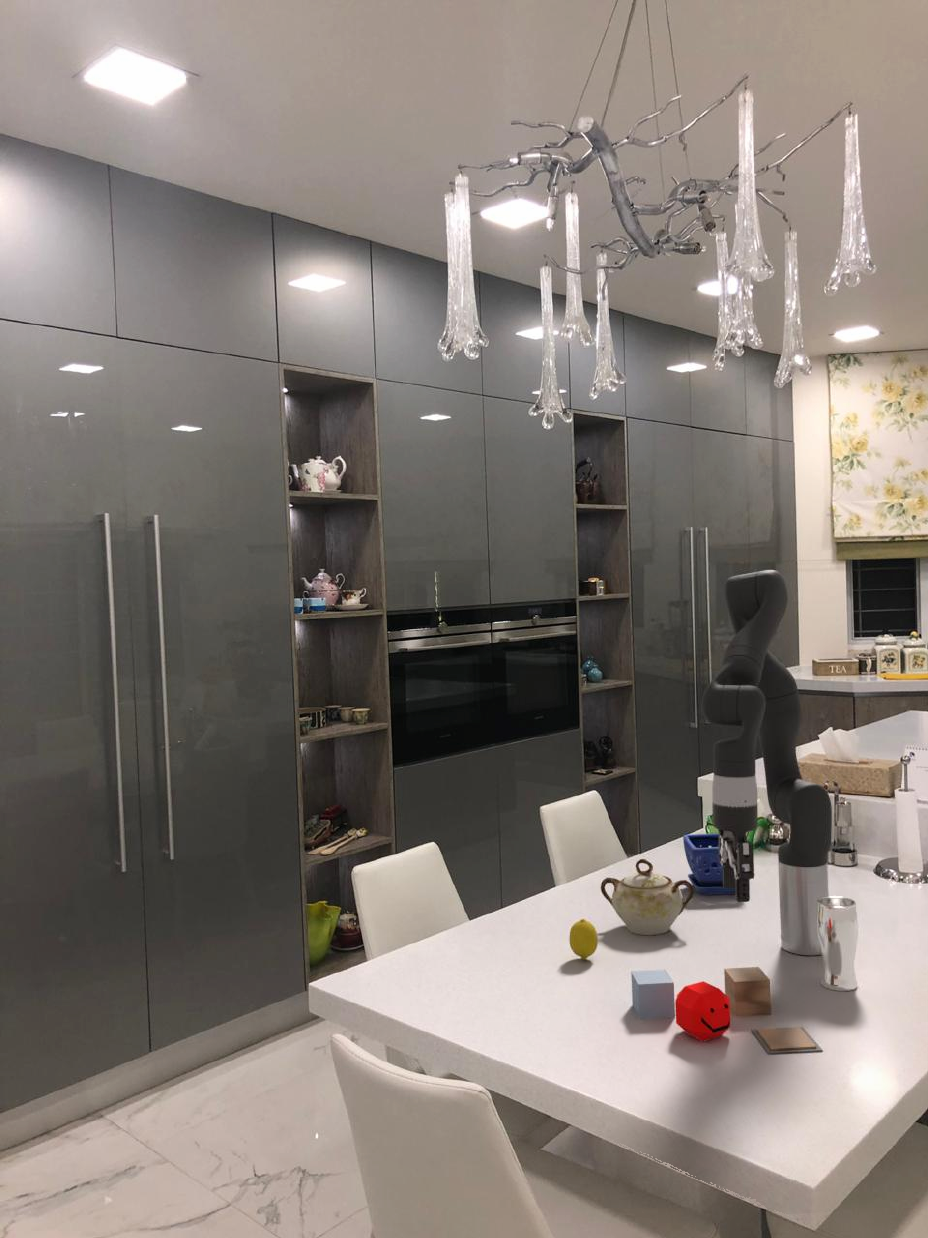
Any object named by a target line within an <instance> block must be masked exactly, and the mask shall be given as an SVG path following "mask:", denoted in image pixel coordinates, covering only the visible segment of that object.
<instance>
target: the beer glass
mask: <svg viewBox="0 0 928 1238" xmlns="http://www.w3.org/2000/svg"><path fill="white" fill-rule="evenodd" d="M858 918H859V917H858V911H857V903H856V900H854V899H852V898H848V897H844V896H836V895H833V896H832V895H831V896H830V895H829V896H828V897H822V898H819V899H818V900H817V933H818V939H819V944H820V949H821V953H822V954H821V958H822V974H821V982H820V983H821V985H822V987H824V988H826V989H828V990H831V991H837V992H849V991H854V990H855V989H857V988H858V980H857V976H856V975H857V974H856V972H855V971H856V970H855V960H856V954H857V953H856V952H857V946H858V938H859V921H858Z"/></svg>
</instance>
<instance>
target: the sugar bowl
mask: <svg viewBox="0 0 928 1238" xmlns="http://www.w3.org/2000/svg"><path fill="white" fill-rule="evenodd" d="M640 864H645V865H647V866H648V869H647V870H641V868H640ZM635 869H636V873H633V874H631V875H628V876H626V877H624V878H622V879H621V880H619V879H617V878H613V877H605V878H604V879H603V880H602V882H601V884H600V890H601V891H600V892H601V893H602V896H603V897H604V898H605V899H606V900H607V901H608V902H609V903H610V905H611V907H612V908H613V909H614V911H615V913H616V915H617V916H618V917H619V918H620V920H621V921H622V922H623V923H624V924H625V926H626V928H627V929H628V931H629V932H630V933H634V934H636V935H642V936H643V935H644V936H655V935H656V936H657V935H661V934H664V933H666V932H668V931H669V930H670V928H671V927H672V926H673V924H674V922H675V921H676V920H677V918H678V917H679V916H680V915H681V914H682V913H683V912H684V909H685V908H686V907H687V905H688V904H689V902H691V900H692V899H693V896H694V894H695V893H694V891H695V890H694V889H695V888H694V886H693V884H692V883H691V881H688V880H687V879H682V880H681V879H680V880H678V881H676V882H673V879H671V877H668V876H665V875H661V874H659V873H656V872H653V870H654V866H653V864H652V863H651V862H650V861H648V860H647V859H645V858H641V859H639V860H637V861H636V863H635ZM607 884H611V885H613V891H612V893H611V894H612V895H611V896H610V895H609V894H608V892H607V891H606V885H607ZM680 886H686V887H687V888H688V890H689V891H688V892H689V893H688V895H687V898H686V899H685V900H684V897H683V893H682V891H681V889H680Z"/></svg>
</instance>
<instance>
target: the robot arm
mask: <svg viewBox="0 0 928 1238" xmlns="http://www.w3.org/2000/svg"><path fill="white" fill-rule="evenodd" d="M724 597H725V603H726V607H727V612H728V614H729V619H730V622H731V625H732V628H733V631H734V636H733V637H732V639H731V640H730V642H729V643H728V645H727V646H726V649H725V652H724V655H723V660H722V665H721V668H720V669H719V670H718V672H717V673H716V675H715V676H714V677H713V679H712V680H711V681H710V682H709V684H708V686H707V687H706V689H705V690H704V693H703V695H702V697H701V704H700V706H701V708H700V709H701V713H702V716H703V718H704V719H705V720H706V721H707V722H708V723H709V724H711V725H714V726H726V727H728V726H729V727H730V726H732V727H742V731H741V733H740V735H738V736H736V737H730V738H724V739H719V740H717V741H716V742H715V743H714V744H713V749H712V750H713V751H712V752H713V753H712V754H713V756H712V757H713V760H712V761H713V762H712V764H713V766H712V767H713V769H712V770H713V775H712V776H713V778H712V786H711V787H712V788H711V790H712V791H711V792H712V793H711V794H712V795H711V796H712V802H711V803H712V826H713V828H715V830H716V829H717V831H718V834H719V855H718V857H719V860H721V864H722V866H723V886H724V887H725V888H735V890H736V894H735V900H736V901H737V902H738V903H748V902H749V901H750V900H751V893H750V892H751V890H750V889H751V888H750V883H751V881H750V880H751V879H752V880H753V879H755V862H754V861H755V859H754V858H755V857H754V854H755V853H754V842H752V841H750V840H748V836H747V834H748V832H752V831H756V830H757V828H758V826H759V823H758V819H759V818H758V816H759V815H758V814H759V813H758V812H759V810H758V783H757V779H756V749H757V741H758V740H759V744H760V750H761V755H762V760H763V767H764V776H765V785H766V796H767V801H768V805H769V809H770V812H771V813H772V815H773V816H774V817H775V818H776V819H777V820H778V821H780V822H782V823H783V824H786V825H789V826H790V827H789V830H790V831H789V841H788V842H784V843H782V844H780V845H779V847H778V852H777V857H778V860H777V862H778V883H779V884H778V886H779V910H780V911H779V914H780V917H779V918H780V940H781V945H780V946H781V948H782V949H783V950H784V951H787V952H789V953H792V954H794V955H802V956H818V955H819V956H820V955H821V956H822V953H821V949H820V944H819V939H818V933H817V900H818V899H819V898H822V897H828V896H830V894H829V892H830V891H829V871H828V870H829V865H828V864H829V863H828V855H829V852H830V849H831V846H832V833H833V831H832V828H833V827H832V826H833V825H832V824H833V823H832V821H833V811H832V810H833V808H832V802H831V798H830V797H831V796H830V795H829V793H828V791H827V790H826V789H825V788H824V787H823V786H822V785H820V784H818V783H815V782H812V781H808V780H804V779H803V778H802V774H801V771H800V767H799V762H798V759H797V757H798V756H797V741H798V739H799V738H798V737H799V734H800V729H801V725H802V721H803V720H802V719H803V710H802V704H801V700H800V694H799V689H798V684H797V682H796V679H795V678H794V676H793V674H792V673H791V672H790V671H789V669H787V667H786V666H785V665H784V664H783V663H782V662H781V661H780V660H779V659H778V658H777V657H776V656H775V655H774V654H773V653H772V652H771V651H770V650H769V646H770V644H771V642H772V640H773V639H774V636H775V634H776V632H777V630H778V628H779V626H780V623H781V622H782V619H783V618H784V616H785V613H786V610H787V607H788V588H787V584H786V582H785V579H784V578H783V575H782V574H781V573H780V572H779V571H777V570H774V569H765V570H760V571H754V572H749V573H743V574H738V575H734V576H733V575H732V576H731V577H728V578H727V579H726V581H725V584H724ZM742 867H744V868H745V871H742Z"/></svg>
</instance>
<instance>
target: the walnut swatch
mask: <svg viewBox="0 0 928 1238" xmlns="http://www.w3.org/2000/svg"><path fill="white" fill-rule="evenodd" d="M750 1031H751V1032H752V1034H753V1035H754V1036H755V1038H756V1039H757V1040H758V1042H759V1043H760V1045H761V1046H762V1048H763V1049H764V1050H765V1051H766V1053H767V1054H768V1055H779V1054H781V1055H782V1054H797V1053H798V1054H799V1053H814V1052H815V1053H817V1052H818V1053H819V1052H823V1051H824V1050H823V1049H822V1048H821V1046H820V1045H819V1043H817V1041H816V1040H814V1038H813V1037H812V1035H810V1033H809V1032H808V1031H807V1030H806V1028H804V1026H798V1027H797V1026H796V1027H781V1028H779V1027H778V1028H760V1029H751V1030H750Z"/></svg>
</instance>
